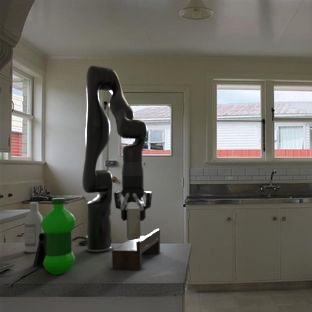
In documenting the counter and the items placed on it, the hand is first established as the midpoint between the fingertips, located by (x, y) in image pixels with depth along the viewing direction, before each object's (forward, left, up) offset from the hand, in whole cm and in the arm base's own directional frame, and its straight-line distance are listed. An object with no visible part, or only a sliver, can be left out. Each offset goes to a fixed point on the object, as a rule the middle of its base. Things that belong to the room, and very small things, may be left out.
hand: (133, 220), depth 133 cm
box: (0, 0, -7) cm, 7 cm away
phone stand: (-22, -21, -16) cm, 34 cm away
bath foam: (-47, -17, -16) cm, 53 cm away
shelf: (-2, +3, -16) cm, 16 cm away
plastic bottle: (-11, -22, -16) cm, 29 cm away
